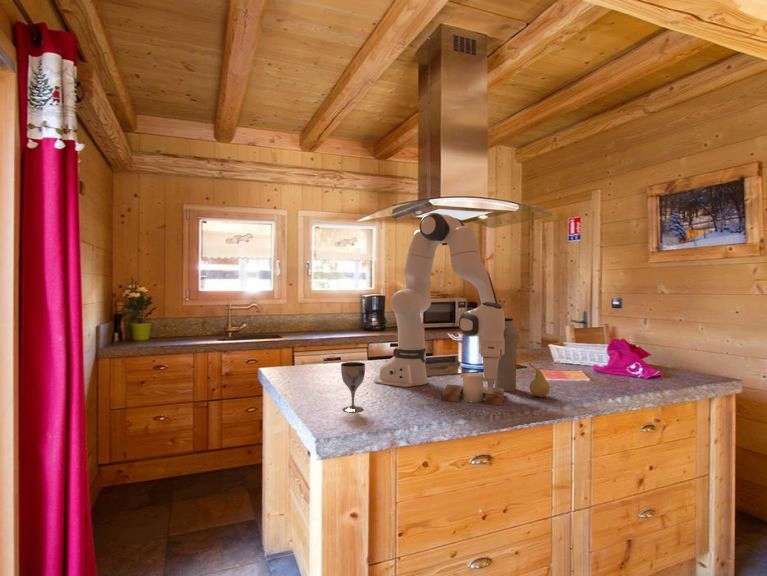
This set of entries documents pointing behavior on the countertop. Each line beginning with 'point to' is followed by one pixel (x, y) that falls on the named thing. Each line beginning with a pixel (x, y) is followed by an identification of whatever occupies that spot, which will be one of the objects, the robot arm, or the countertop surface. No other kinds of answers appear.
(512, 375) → the thermos bottle
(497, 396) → the brown wooden board
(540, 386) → the fruit
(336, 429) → the countertop surface
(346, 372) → the wine glass
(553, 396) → the countertop surface
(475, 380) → the beige ceramic cup
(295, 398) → the countertop surface
